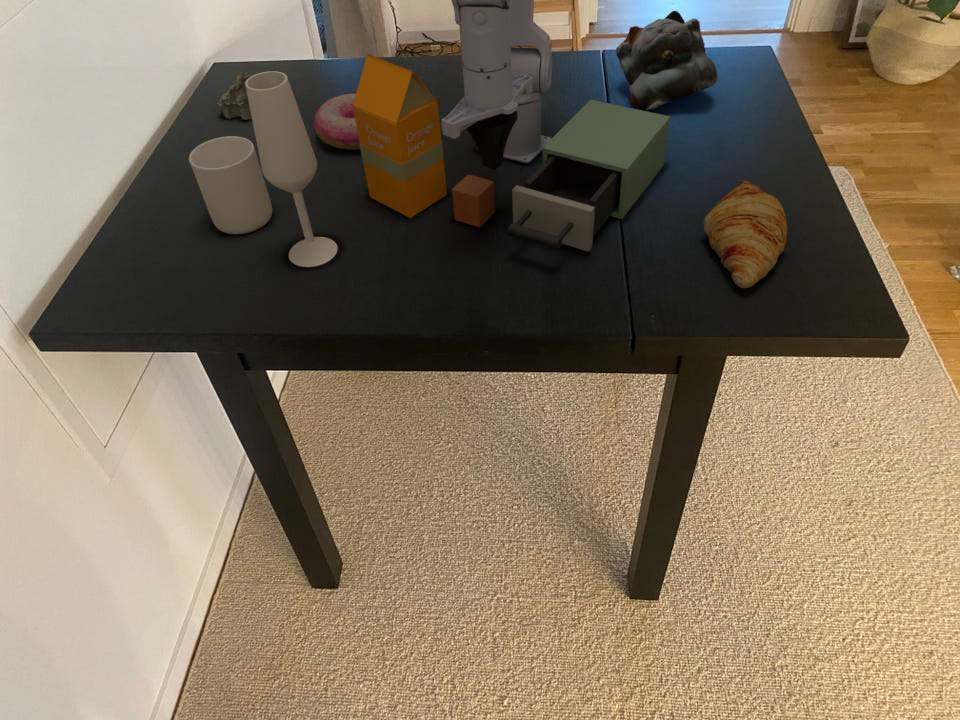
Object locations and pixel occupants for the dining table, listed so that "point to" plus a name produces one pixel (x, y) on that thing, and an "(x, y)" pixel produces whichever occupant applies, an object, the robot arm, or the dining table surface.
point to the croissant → (747, 232)
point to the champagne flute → (286, 155)
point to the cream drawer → (565, 203)
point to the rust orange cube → (473, 200)
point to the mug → (232, 184)
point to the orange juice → (399, 137)
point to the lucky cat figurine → (665, 61)
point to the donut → (338, 123)
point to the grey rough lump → (236, 99)
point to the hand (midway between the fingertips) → (491, 165)
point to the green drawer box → (615, 145)
